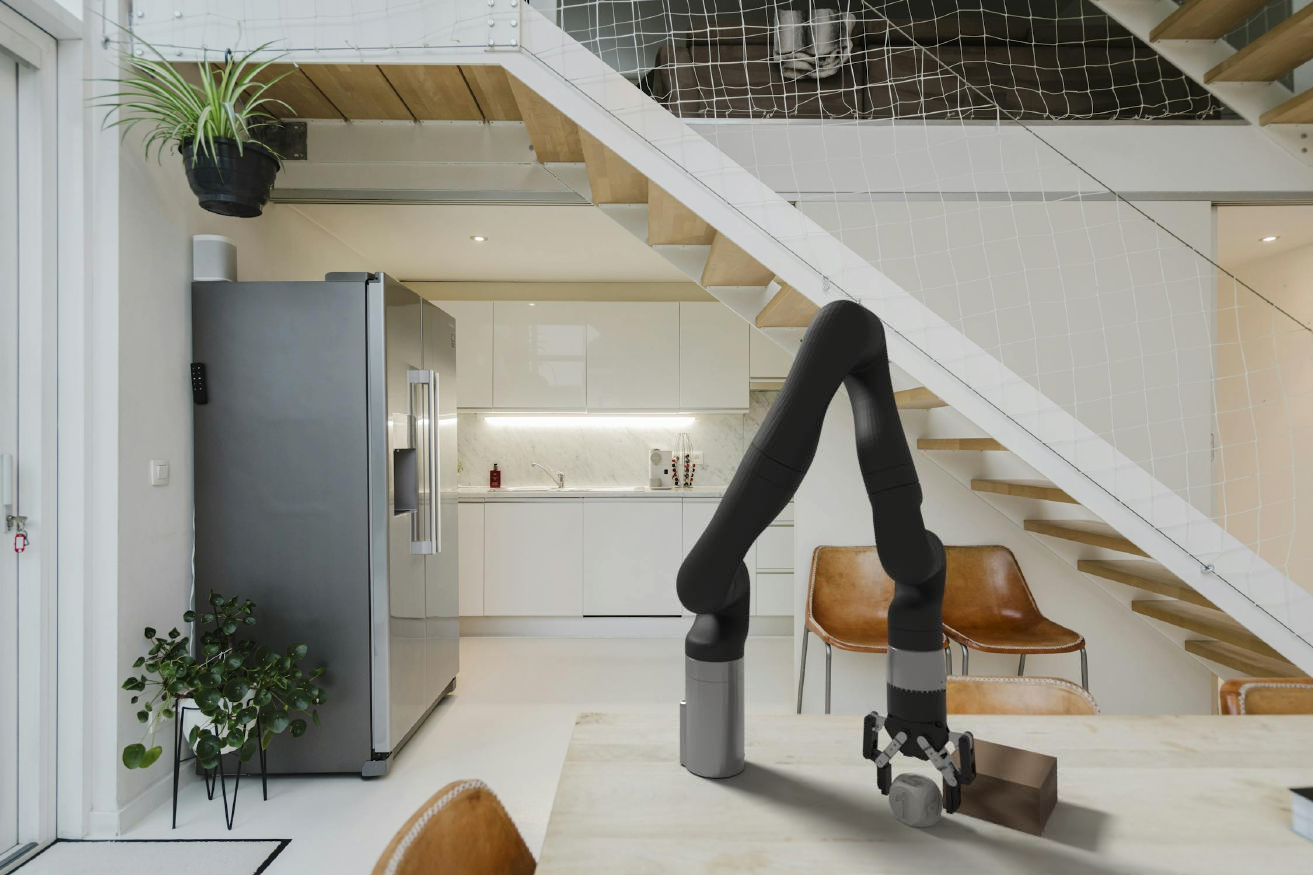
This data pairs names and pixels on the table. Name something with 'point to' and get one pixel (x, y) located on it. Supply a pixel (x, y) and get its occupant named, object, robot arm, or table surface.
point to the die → (915, 800)
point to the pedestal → (1009, 787)
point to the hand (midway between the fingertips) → (918, 802)
